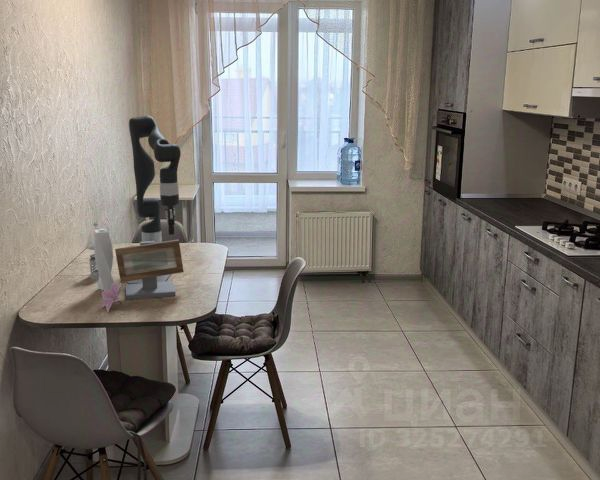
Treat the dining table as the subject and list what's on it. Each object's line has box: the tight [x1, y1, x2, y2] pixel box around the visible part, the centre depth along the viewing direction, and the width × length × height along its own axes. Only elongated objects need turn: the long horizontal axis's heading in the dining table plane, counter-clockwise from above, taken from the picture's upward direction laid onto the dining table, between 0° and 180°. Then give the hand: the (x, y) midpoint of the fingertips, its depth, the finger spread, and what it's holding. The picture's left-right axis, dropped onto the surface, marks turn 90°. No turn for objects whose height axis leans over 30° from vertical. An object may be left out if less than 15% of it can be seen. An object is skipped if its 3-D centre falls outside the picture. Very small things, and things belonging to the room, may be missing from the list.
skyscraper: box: [93, 225, 115, 291], centre depth 273 cm, size 8×8×28 cm
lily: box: [101, 282, 123, 313], centre depth 253 cm, size 12×12×10 cm
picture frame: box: [114, 238, 184, 283], centre depth 267 cm, size 2×26×14 cm, turn 105°
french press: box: [87, 222, 99, 280], centre depth 294 cm, size 10×12×25 cm
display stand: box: [125, 241, 176, 300], centre depth 270 cm, size 16×20×22 cm
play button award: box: [126, 274, 173, 284], centre depth 292 cm, size 16×2×20 cm
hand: (171, 234), depth 267 cm, fingers closed
